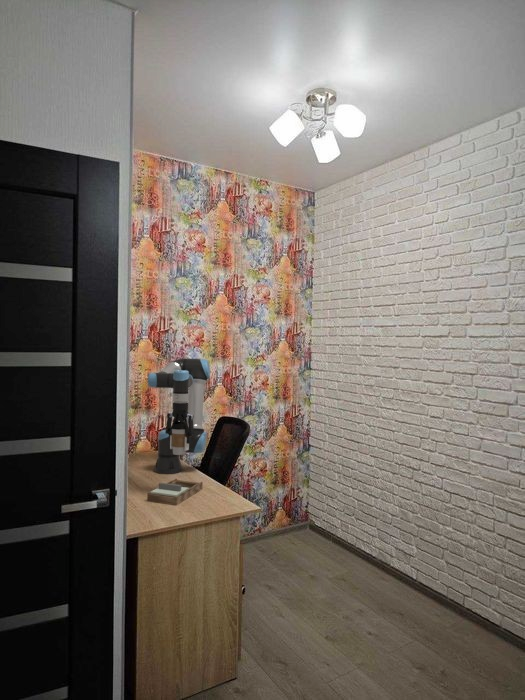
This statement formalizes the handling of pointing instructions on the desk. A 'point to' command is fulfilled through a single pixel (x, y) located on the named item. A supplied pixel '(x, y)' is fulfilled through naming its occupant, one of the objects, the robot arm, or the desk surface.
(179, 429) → the coffee cup
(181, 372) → the robot arm
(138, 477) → the desk surface
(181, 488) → the lid
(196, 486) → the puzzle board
